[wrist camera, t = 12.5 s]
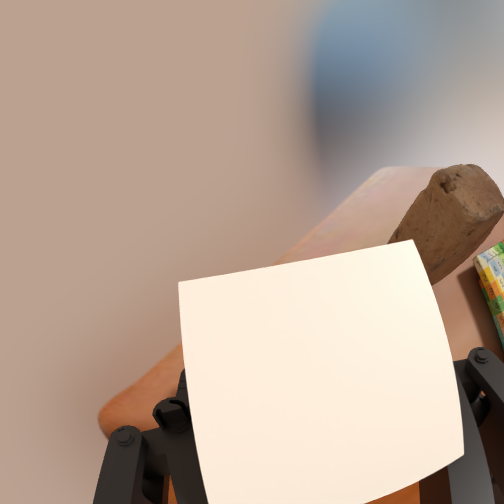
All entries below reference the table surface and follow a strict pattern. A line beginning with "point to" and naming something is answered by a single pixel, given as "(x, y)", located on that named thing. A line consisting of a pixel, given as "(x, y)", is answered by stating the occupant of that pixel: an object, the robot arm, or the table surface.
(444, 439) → the cream block
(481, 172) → the block
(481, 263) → the puzzle game
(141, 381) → the table surface
